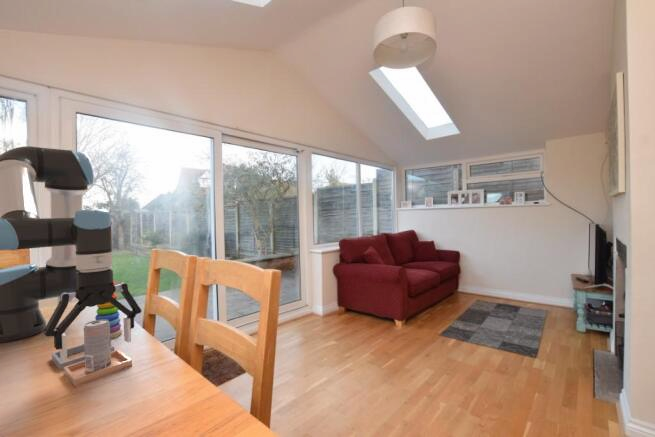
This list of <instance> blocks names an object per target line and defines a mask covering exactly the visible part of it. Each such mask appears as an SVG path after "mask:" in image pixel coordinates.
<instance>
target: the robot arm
mask: <svg viewBox="0 0 655 437" xmlns="http://www.w3.org/2000/svg"><path fill="white" fill-rule="evenodd" d="M94 178H95V177H94V170H93V165H92V161H91V159H90V157H89V155H88V154H87V153H86V152H82V151H77V150H72V149H58V148H51V147H50V148H49V147H40V146H39V147H38V146H30V145H29V146H27V145H25V146H20V147H15V148H11V149H8V150H6V151H4V152H3V153H1V154H0V251H9V250H10V251H17V250H27V249H28V250H29V249H39V248H51V257H49V258H48V259H47V260H46V261H45V266H42V267H39V265H38V264H37V263H29V264H21V265H15V266H14V265H13V266H11V267H10V266H9V267H6V268H2V269H0V344H1V343H7V342H13V341H17V340H22V339H25V338H29V337H32V336H35V335H38V334H41V333H43V335H44V336H46V337H53V344H54V345H53V347H54V348H55V350H56V351H60V359H61V361H62V362H63V363H65V362H67V361H68V356H67V349H68V343H67V342H68V341H67V339H68V338H67V334H66V333H65V331H66V330H68V328H69V327H70V326H71V325H72V323H73V322H74V321H75V320H76V319H77V317H78V316H79V315H80V313H82V312H83V311H84V310H85V309H86V308H87V307H89V308H91V307H92V308H93V307H95V306H97V305H102V304H105V303H106V302H107V301H108V302H110V303H111V304H112V305H114V306H115V307H116V308H118V311H121V313H123V314H124V315H126V316H123V317H122V318H123V340H124V342H126V343H131V342H132V333H131V331H132V330H131V329H134V327H135V318H136V315H138V314H141V313H142V311H143V310H142V309H141V307H140V306H139V304H138V302H137V301H136V300H135V298H134V297H133V295H132V294H131V292H130V291H129V286H128V284H127V283H125V282H123V281H122V282H119V283H118V284H116V285H114V284H113V281H114V270H113V268H111V267H113V265H114V264H113V243H112V242H113V241H112V239H113V236H112V225H113V221H112V218H111V216H112V214H111V212H110V211H109V210H107V209H83V194H84V193H85V192H87V191H88V187H89V186H90V185H91V186H92V185H93V184H94ZM36 182H37V183H44V188H45V189H46V190H47V191H49V192H50V218H49V217H48V218H47V217H46V218H44V217H43V218H42V217H41V218H40V213H39V208H38V203H37V202H38V201H37V196H36V190H35V185H34V183H36ZM115 290H116V291H117V292H120V293H121V295H122V297H123V298H124V299H125V301H126V302H127V304H128V305H129V307H130V308H131V309H132V310H131V309H128V307H127V306H125V305H124V304H123V303H121V302H120V301H118V300H117V298H116V299H115V298H113V297H112V294H115V293H116V291H115ZM54 298H59V301H58V304H57V305H56V307H55V309H54V311H53V313H52V314H51V317H50V318H49V320H48V321H47V320H46V319H45V317H44V315H43V313H42V311H41V309H40V306H39V305H40V303H39V301H41V300H48V299H54ZM74 298H75V299H77V300H78V301H77V302H76V303H75V305H74V307H73V308H72V309H71V310H70V312H69V313H68V314H67V315H66V316H65V318H63V319H62V321H61V322H60V320H61V318H62V316H63V314H64V312H65V311H66V309H67V307H68V304H69V303H71V302H72V300H73V299H74ZM59 322H60V323H59ZM58 323H59V324H58Z"/></svg>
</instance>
